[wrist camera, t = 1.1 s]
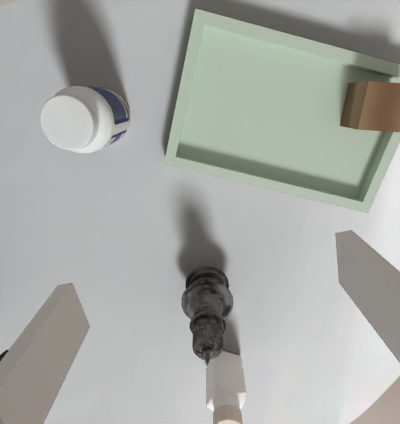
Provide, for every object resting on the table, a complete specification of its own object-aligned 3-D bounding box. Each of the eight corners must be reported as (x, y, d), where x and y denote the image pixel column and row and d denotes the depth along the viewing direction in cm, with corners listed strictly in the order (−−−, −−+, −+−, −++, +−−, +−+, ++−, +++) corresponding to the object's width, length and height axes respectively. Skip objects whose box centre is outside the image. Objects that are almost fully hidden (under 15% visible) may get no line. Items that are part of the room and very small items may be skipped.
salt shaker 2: (232, 375, 44) (238, 446, 35) (204, 368, 44) (204, 437, 35) (242, 354, 43) (252, 422, 34) (214, 346, 42) (217, 412, 33)
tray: (166, 160, 34) (163, 164, 32) (195, 14, 29) (195, 8, 28) (359, 206, 35) (367, 213, 34) (416, 73, 31) (430, 72, 29)
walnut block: (339, 126, 32) (357, 129, 28) (348, 83, 31) (368, 81, 27) (379, 128, 32) (402, 132, 28) (389, 85, 31) (415, 84, 27)
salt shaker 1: (180, 266, 38) (170, 336, 27) (229, 262, 38) (239, 332, 27) (185, 307, 40) (178, 388, 29) (232, 304, 40) (242, 385, 29)
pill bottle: (83, 81, 32) (32, 74, 22) (135, 96, 32) (108, 95, 23) (75, 135, 33) (26, 148, 24) (125, 148, 34) (96, 167, 25)
